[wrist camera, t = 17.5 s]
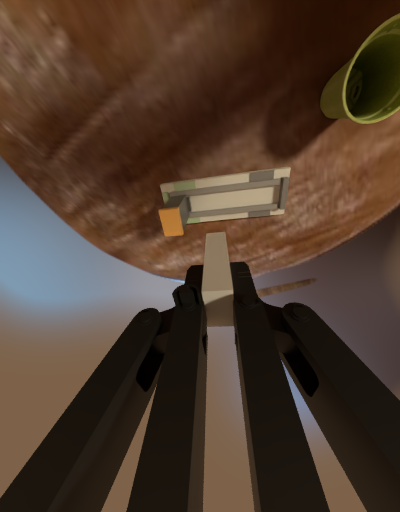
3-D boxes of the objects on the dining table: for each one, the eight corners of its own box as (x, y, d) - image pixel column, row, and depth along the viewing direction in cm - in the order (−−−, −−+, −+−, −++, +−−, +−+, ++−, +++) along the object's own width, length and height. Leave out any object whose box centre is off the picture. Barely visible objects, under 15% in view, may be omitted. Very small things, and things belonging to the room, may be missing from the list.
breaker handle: (175, 215, 38) (162, 236, 28) (170, 195, 35) (155, 211, 26) (192, 213, 37) (185, 234, 28) (189, 192, 35) (180, 208, 25)
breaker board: (171, 222, 41) (167, 227, 38) (162, 183, 36) (157, 186, 33) (280, 211, 38) (286, 216, 35) (286, 166, 33) (293, 168, 30)
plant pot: (384, 43, 24) (460, -5, 17) (362, 124, 29) (412, 115, 22) (315, 60, 25) (356, 24, 18) (304, 135, 30) (334, 130, 23)
